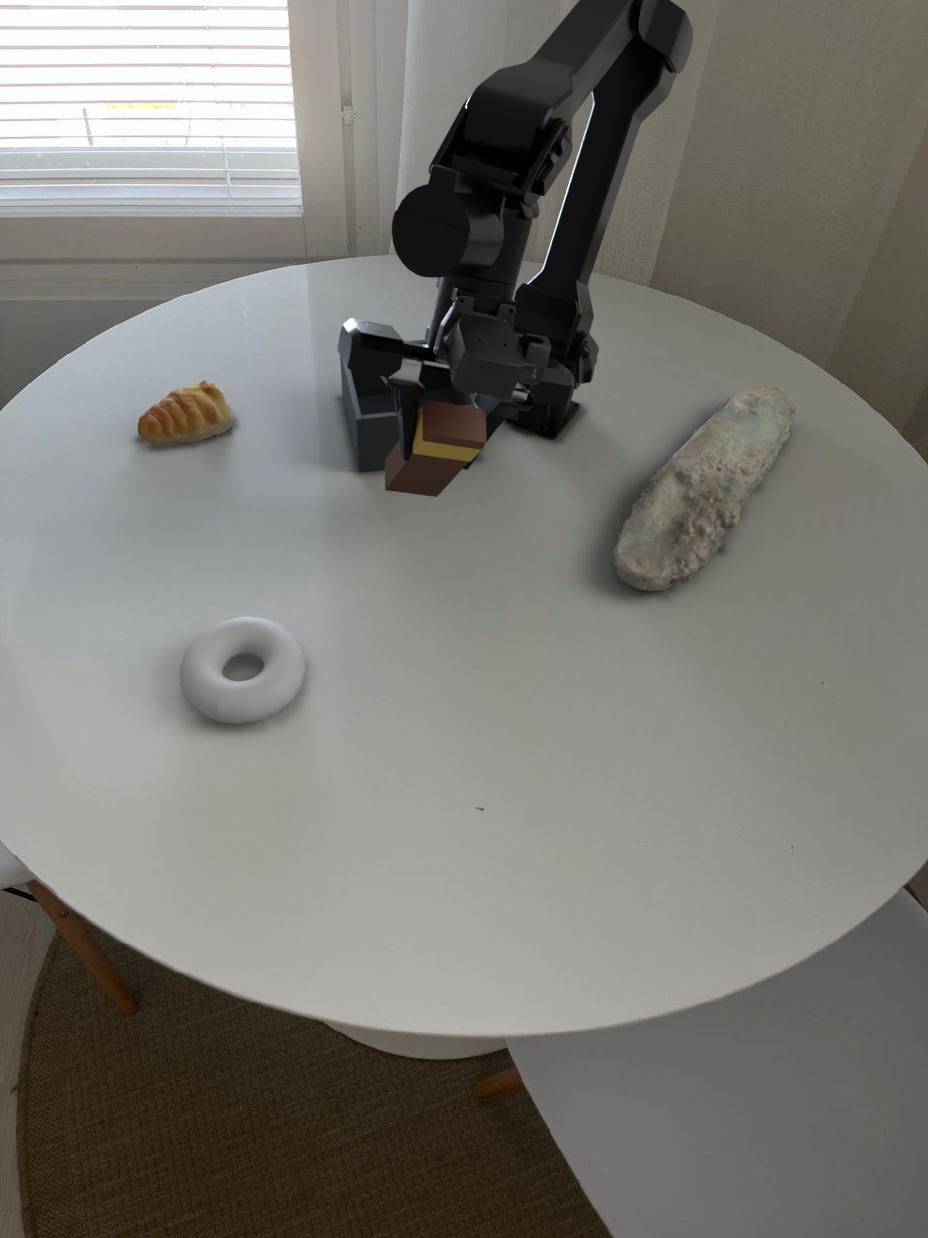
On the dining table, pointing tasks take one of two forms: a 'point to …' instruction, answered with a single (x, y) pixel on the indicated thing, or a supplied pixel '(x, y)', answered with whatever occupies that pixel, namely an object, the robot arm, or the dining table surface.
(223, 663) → the donut
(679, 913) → the dining table surface
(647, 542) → the long grey stone
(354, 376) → the waste bin
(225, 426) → the pastry
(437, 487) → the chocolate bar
